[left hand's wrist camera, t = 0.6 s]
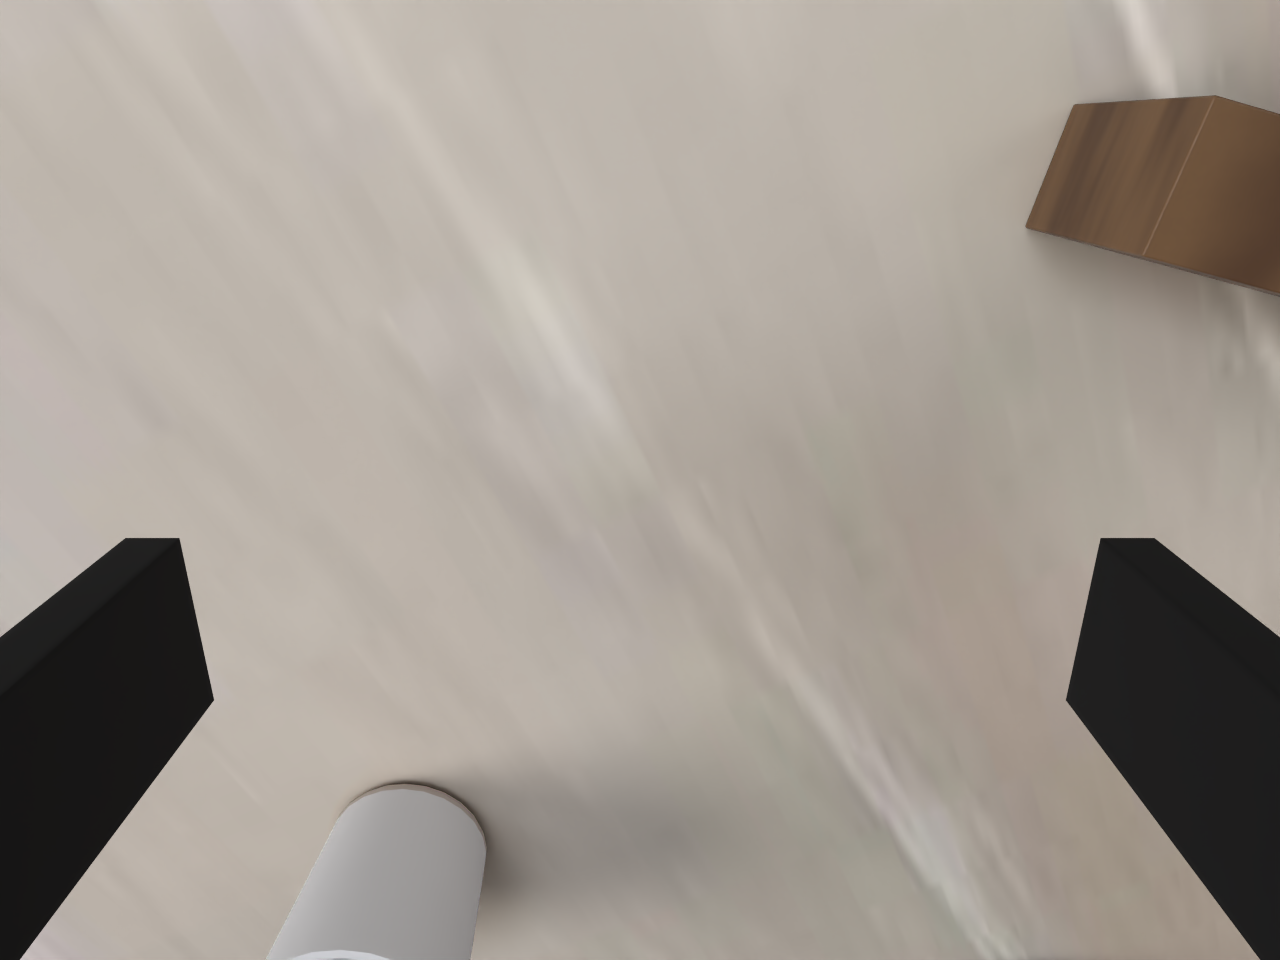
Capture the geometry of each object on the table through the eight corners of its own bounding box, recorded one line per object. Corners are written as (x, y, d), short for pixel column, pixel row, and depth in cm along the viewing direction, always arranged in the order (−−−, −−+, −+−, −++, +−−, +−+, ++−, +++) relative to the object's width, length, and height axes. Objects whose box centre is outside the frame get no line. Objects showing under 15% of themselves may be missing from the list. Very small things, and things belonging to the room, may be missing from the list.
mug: (340, 757, 44) (258, 929, 35) (513, 797, 45) (479, 976, 36) (308, 913, 48) (225, 1107, 39) (468, 947, 49) (426, 1145, 40)
